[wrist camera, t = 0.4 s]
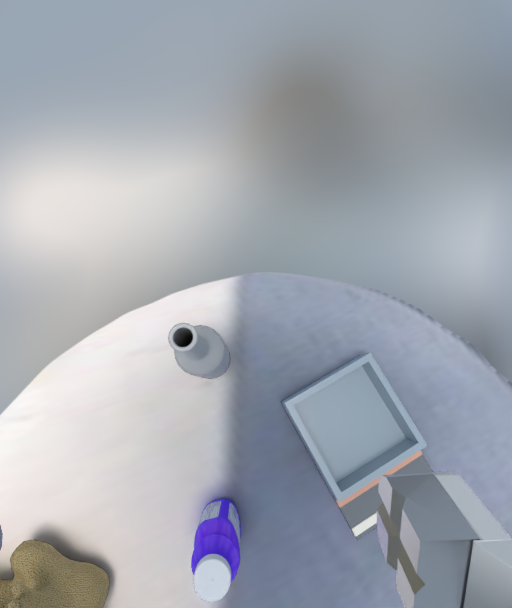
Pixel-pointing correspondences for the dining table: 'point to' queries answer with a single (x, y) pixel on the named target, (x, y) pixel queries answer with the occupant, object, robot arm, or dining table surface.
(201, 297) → the dining table surface
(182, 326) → the bottle
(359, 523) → the line mat
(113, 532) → the dining table surface
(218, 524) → the bottle
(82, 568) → the decorative coral
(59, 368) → the dining table surface
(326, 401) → the bin
